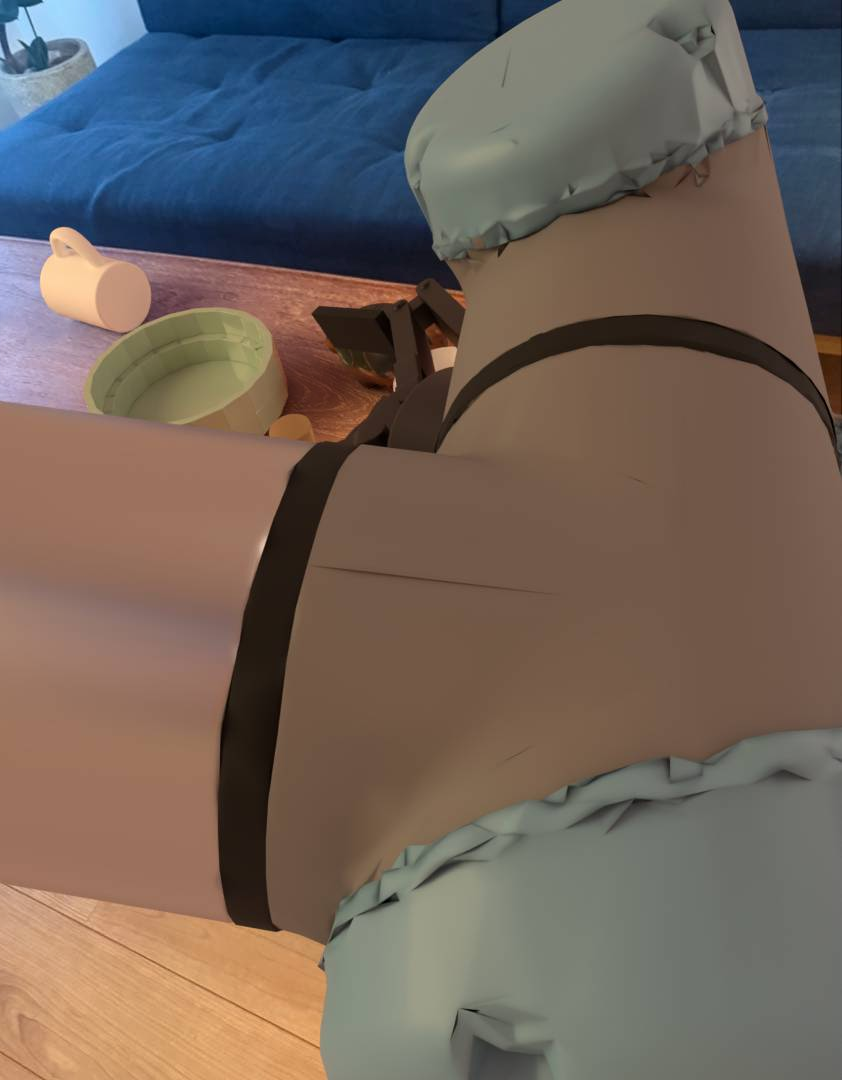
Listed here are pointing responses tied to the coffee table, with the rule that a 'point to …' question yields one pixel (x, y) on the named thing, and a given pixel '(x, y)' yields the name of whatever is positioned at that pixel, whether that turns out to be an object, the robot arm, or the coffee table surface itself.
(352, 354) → the decorative turtle
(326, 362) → the coffee table surface
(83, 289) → the mug
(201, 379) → the bowl
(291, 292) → the coffee table surface
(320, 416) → the coffee table surface
